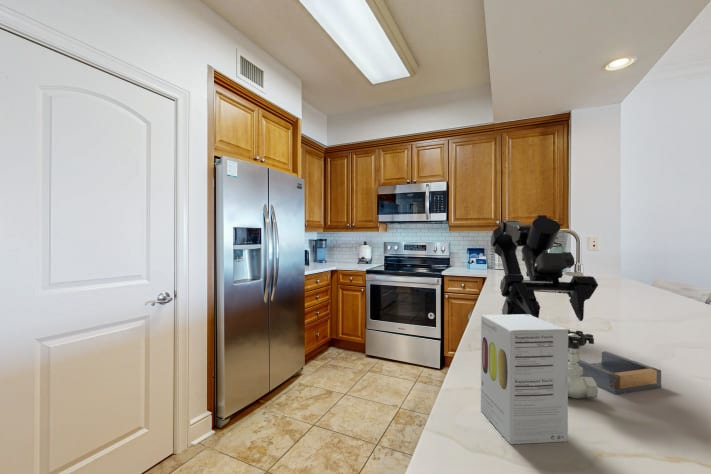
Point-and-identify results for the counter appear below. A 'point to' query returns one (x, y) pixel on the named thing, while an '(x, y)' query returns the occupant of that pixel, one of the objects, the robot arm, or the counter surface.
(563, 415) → the supplement box
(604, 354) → the grey wooden tray
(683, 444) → the counter surface
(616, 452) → the counter surface
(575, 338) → the valve
